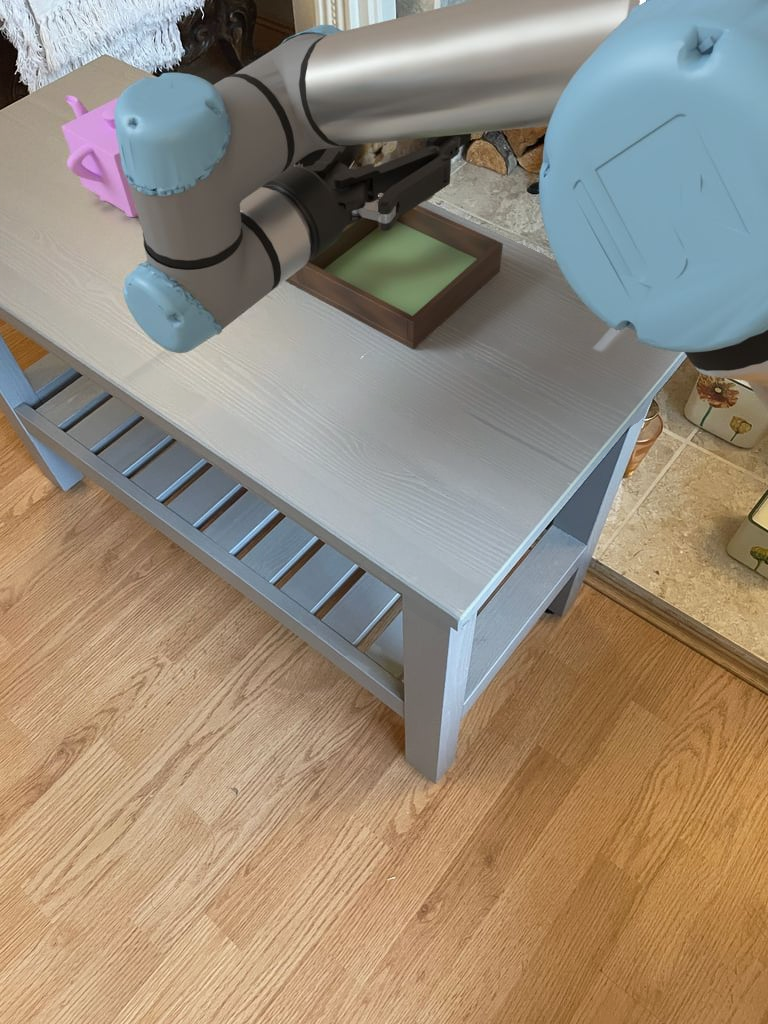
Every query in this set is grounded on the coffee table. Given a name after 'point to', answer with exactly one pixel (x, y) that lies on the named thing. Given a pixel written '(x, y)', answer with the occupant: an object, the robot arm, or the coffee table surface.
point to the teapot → (98, 154)
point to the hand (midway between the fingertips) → (439, 113)
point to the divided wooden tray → (402, 273)
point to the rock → (387, 152)
